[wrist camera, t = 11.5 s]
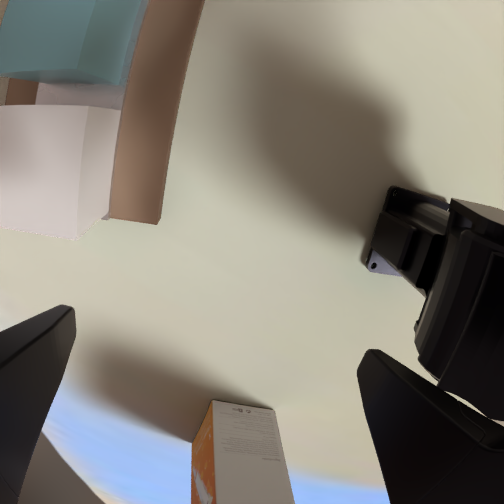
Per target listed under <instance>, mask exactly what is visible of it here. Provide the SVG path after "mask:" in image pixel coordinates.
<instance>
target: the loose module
mask: <svg viewBox="0 0 504 504" xmlns="http://www.w3.org/2000/svg"><path fill="white" fill-rule="evenodd" d="M140 2H141V0H9V2H8V5H7V8H6V11H5V14H4V17H3V20H2V23H1V26H0V76H2V77H9V78H16V79H22V80H28V81H34V82H40V83H45V84H49V83H79V84H107V85H119V81H120V76H121V72H122V67H123V63H124V59H125V55H126V51H127V47H128V43H129V39H130V36H131V32H132V29H133V25H134V22H135V18H136V15H137V12H138V9H139V5H140Z"/></svg>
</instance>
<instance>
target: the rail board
mask: <svg viewBox="0 0 504 504" xmlns="http://www.w3.org/2000/svg"><path fill="white" fill-rule="evenodd" d="M204 2H205V0H151V2H150V5H149V8H148V11H147V15H146V18H145V21H144V25H143V28H142V32H141V36H140V39H139V43H138V47H137V51H136V55H135V59H134V63H133V68H132V72H131V76H130V81H129V86H128V91H127V96H126V101H125V106H124V111H123V117H122V123H121V129H120V135H119V142H118V149H117V156H116V164H115V172H114V181H113V191H112V202H111V215H110V218H114V219H121V220H128V221H134V222H141V223H148V224H154V225H157V224H158V222H159V220H160V218H161V211H162V204H163V196H164V189H165V182H166V176H167V169H168V163H169V157H170V151H171V145H172V139H173V134H174V128H175V123H176V118H177V113H178V108H179V103H180V98H181V93H182V89H183V84H184V79H185V75H186V71H187V66H188V62H189V58H190V54H191V50H192V46H193V42H194V38H195V34H196V30H197V27H198V23H199V19H200V16H201V12H202V9H203V5H204ZM38 85H39V82H34V81H28V80H22V79H16V78H10V80H9V85H8V91H7V96H6V103H5V105H35V102H36V96H37V91H38Z"/></svg>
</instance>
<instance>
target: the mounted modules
mask: <svg viewBox="0 0 504 504" xmlns="http://www.w3.org/2000/svg"><path fill="white" fill-rule="evenodd" d="M120 114H121V110H115V109H108V108H100V107H93V106H78V105H5V106H0V228H5V229H11V230H17V231H22V232H28V233H34V234H40V235H46V236H52V237H57V238H63V239H69V240H75V241H77V240H78V239H79V238H80V237H81V236H82V235H83V234H84V233H86V232H87V231H88V230H89V229H90V228H91V227H92V226H93V225H94V224H96V223H97V222H98V221H99V220H100V219H101V218H102V217H103V216H105V215H106V214H107V213H108V211H109V198H110V188H111V178H112V169H113V161H114V153H115V146H116V139H117V133H118V126H119V120H120Z"/></svg>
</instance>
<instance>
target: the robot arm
mask: <svg viewBox="0 0 504 504" xmlns="http://www.w3.org/2000/svg"><path fill="white" fill-rule="evenodd" d="M395 190H396V195H395V196H393V193H394V191H395ZM448 208H449V210H448ZM447 210H448V212H447ZM372 263H375V264H374V266H372V267H371V265H372ZM366 268H367V269H368V270H369V271H370V272H375V273H381V274H388V275H395V276H401V277H404V278H405V279H406V280H407V281H408V282H409V283H410V284H411V285H412V286H413V287H414V288H416V289H417V290H418V291H419V292H420V293H421V294H422V295H423V296H424V297H425V298H426V299H425V302H424V305H423V308H422V311H421V314H420V317H419V319H418V320H417V321H416V323H415V326H414V331H415V341H414V342H415V345H416V348H417V350H418V353H419V356H418V361H419V363H420V364H421V365H422V366H423V367H424V369H425V370H426V371H427V372H428V373H430V375H431V376H432V377H433V378H434V379H436V380H437V381H438V384H437V386H435V385H434V384H432V383H431V382H429V381H427V380H426V379H424V378H423V377H421V376H420V375H418V374H417V373H415V372H414V371H412V370H410V369H409V368H407V367H406V366H404V365H403V364H401V363H400V362H398V361H397V360H395V359H393V358H392V357H390V356H389V355H387V354H386V353H384V352H383V351H381V350H379V349H369V350H367V351H366V353H365V355H364V357H363V359H362V361H361V363H360V365H359V367H358V369H357V378H358V383H359V388H360V393H361V398H362V403H363V408H364V412H365V416H366V420H367V423H368V426H369V429H370V433H371V436H372V439H373V443H374V446H375V450H376V453H377V457H378V460H379V464H380V467H381V471H382V474H383V478H384V481H385V485H386V489H387V493H388V496H389V500H390V504H504V427H503V426H502V425H500V424H498V423H496V422H494V421H493V420H499V421H504V211H503V210H501V209H498V208H495V207H491V206H486V205H482V204H478V203H473V202H469V201H464V200H459V199H454V198H451V201H450V204H449V203H446V202H443V201H440V200H437V199H434V198H431V197H428V196H425V195H422V194H419V193H416V192H413V191H410V190H407V189H404V188H400V187H397V186H391V187H390V188H389V190H388V192H387V196H386V199H385V203H384V207H383V210H382V212H381V213H380V216H379V219H378V223H377V226H376V229H375V232H374V236H373V239H372V242H371V249H370V252H369V255H368V258H367V261H366ZM75 337H76V320H75V310H74V308H73V307H71V306H67V305H59V306H56V307H54V308H52V309H50V310H47V311H45V312H43V313H41V314H38V315H36V316H34V317H32V318H30V319H27V320H25V321H23V322H21V323H19V324H16V325H14V326H12V327H10V328H8V329H6V330H3V331H1V332H0V504H17V503H18V497H19V495H20V492H21V488H22V485H23V482H24V479H25V475H26V472H27V469H28V466H29V463H30V460H31V457H32V454H33V451H34V448H35V446H36V443H37V440H38V438H39V435H40V432H41V430H42V427H43V424H44V422H45V419H46V417H47V414H48V412H49V409H50V407H51V404H52V402H53V400H54V397H55V395H56V392H57V390H58V388H59V385H60V383H61V380H62V378H63V375H64V372H65V368H66V365H67V362H68V359H69V356H70V353H71V350H72V347H73V344H74V341H75ZM445 391H446V392H449V393H453V394H455V395H457V396H459V397H461V398H462V399H464V400H466V401H468V402H469V403H470V404H472V405H473V406H474V407H476V408H477V409H478V410H479V411H480V412H482V413H483V414H484V415H485V416H486V417H485V416H483V415H482V414H480V413H478V412H476V411H475V410H473V409H472V408H470V407H468V406H467V405H465V404H463V403H462V402H460V401H457V399H456V398H454V397H452V396H451V395H449V394H448V393H446V392H445ZM487 417H488V418H487ZM491 419H493V420H491Z"/></svg>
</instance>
